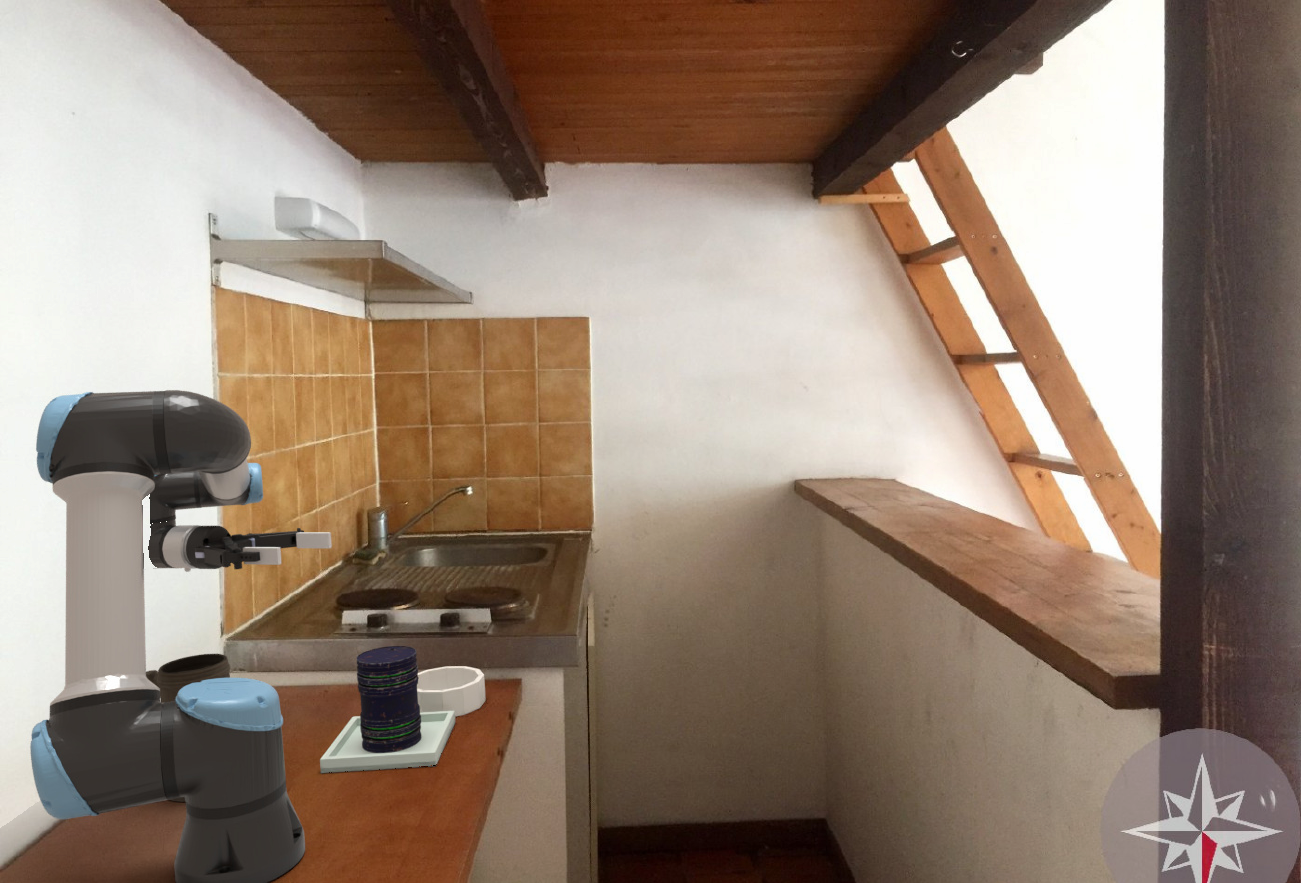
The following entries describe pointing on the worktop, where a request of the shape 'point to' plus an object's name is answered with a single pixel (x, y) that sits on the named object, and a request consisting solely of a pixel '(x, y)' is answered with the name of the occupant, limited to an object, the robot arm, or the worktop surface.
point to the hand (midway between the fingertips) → (306, 547)
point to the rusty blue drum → (389, 699)
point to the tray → (425, 753)
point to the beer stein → (187, 676)
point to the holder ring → (451, 689)
